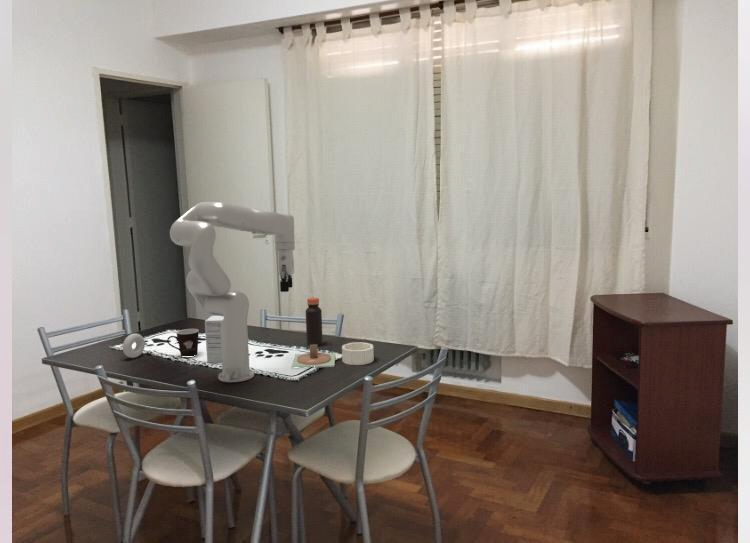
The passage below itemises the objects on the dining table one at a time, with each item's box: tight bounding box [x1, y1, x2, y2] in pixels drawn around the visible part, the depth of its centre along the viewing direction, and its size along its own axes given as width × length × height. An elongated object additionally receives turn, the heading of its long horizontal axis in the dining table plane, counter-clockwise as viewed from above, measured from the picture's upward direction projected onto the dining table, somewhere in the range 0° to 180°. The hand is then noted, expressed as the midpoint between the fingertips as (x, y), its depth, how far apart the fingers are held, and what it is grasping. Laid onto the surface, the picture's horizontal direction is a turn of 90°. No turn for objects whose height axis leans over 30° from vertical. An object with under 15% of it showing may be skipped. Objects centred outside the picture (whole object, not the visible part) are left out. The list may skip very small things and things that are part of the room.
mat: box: [291, 352, 336, 368], centre depth 226 cm, size 16×16×1 cm
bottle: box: [305, 297, 324, 347], centre depth 249 cm, size 7×7×20 cm
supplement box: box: [204, 315, 224, 363], centre depth 230 cm, size 10×9×17 cm
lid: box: [297, 344, 331, 365], centre depth 226 cm, size 13×13×6 cm
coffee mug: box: [166, 328, 200, 357], centre depth 237 cm, size 12×9×10 cm
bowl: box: [341, 341, 375, 366], centre depth 226 cm, size 12×12×6 cm
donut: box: [122, 333, 146, 359], centre depth 235 cm, size 10×4×10 cm, turn 154°
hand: (286, 289), depth 230 cm, fingers open, 9 cm apart
